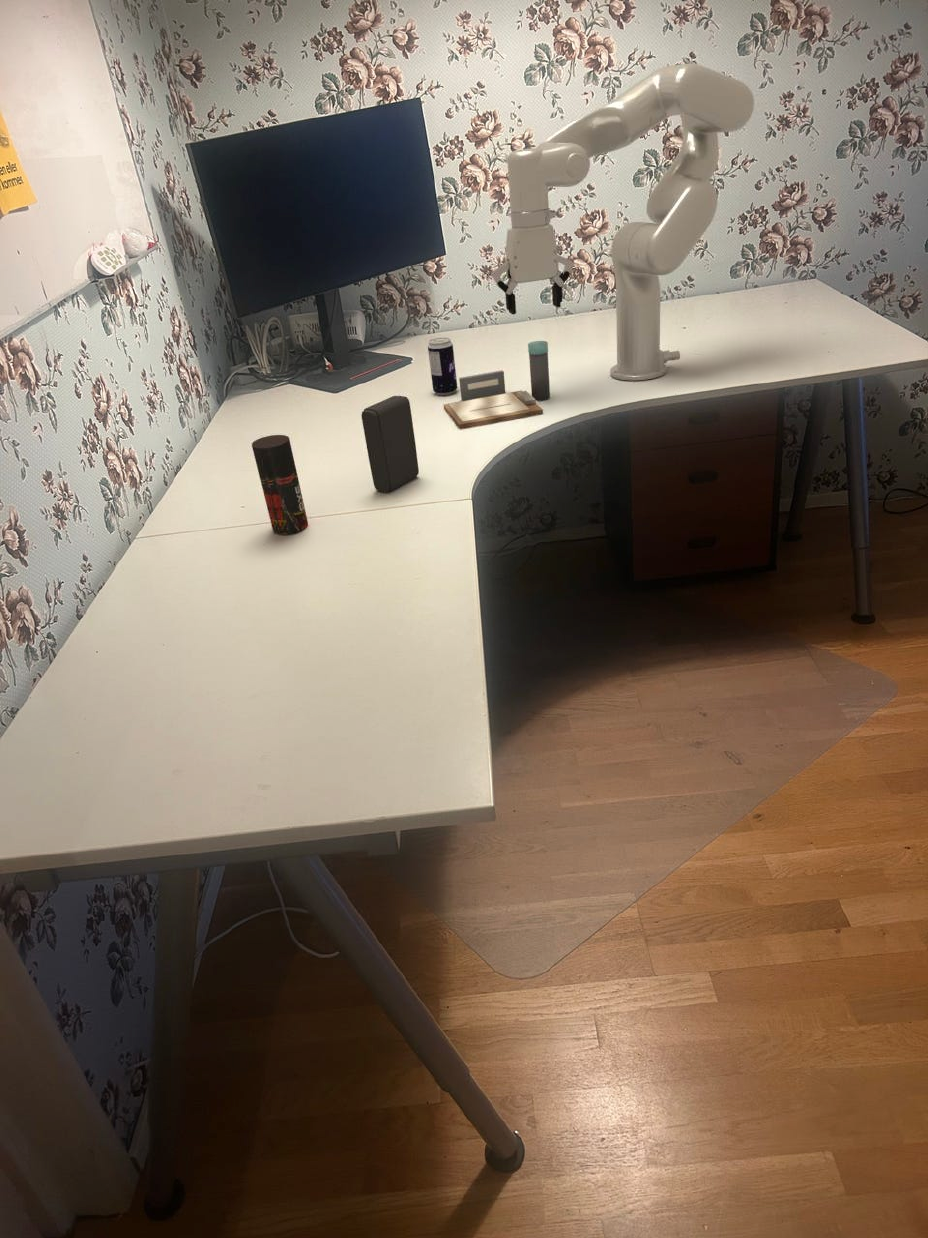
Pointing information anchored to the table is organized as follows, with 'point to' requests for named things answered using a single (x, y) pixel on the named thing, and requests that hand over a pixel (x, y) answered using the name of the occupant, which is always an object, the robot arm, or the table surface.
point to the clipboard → (493, 409)
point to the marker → (539, 370)
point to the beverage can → (442, 366)
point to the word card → (482, 385)
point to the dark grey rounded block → (390, 443)
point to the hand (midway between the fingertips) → (534, 309)
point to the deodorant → (280, 484)
